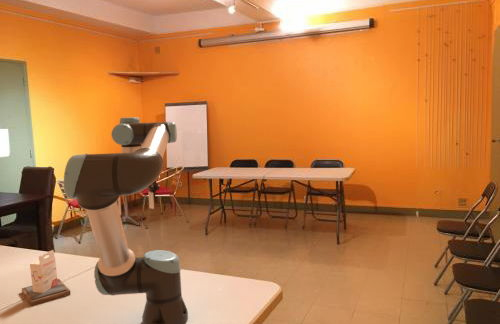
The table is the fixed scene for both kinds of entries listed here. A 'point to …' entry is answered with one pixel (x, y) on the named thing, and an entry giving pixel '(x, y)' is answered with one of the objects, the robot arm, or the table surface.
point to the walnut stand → (45, 293)
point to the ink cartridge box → (44, 273)
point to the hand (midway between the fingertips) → (135, 211)
